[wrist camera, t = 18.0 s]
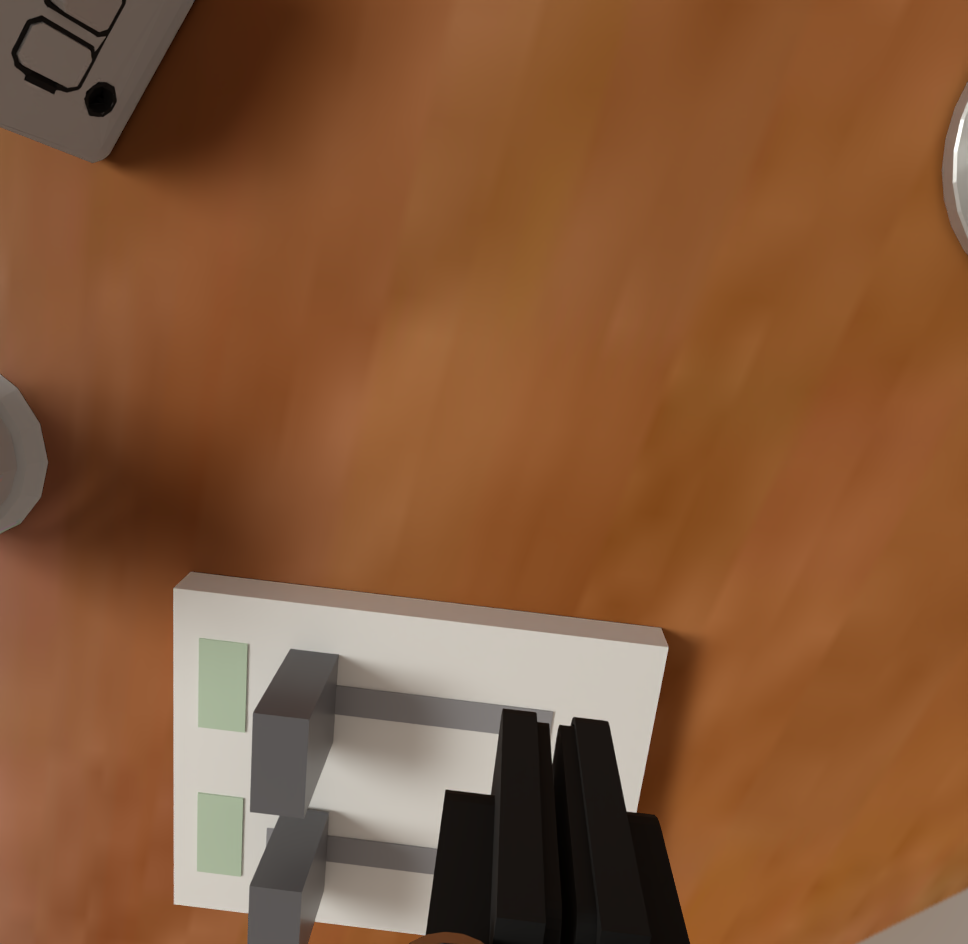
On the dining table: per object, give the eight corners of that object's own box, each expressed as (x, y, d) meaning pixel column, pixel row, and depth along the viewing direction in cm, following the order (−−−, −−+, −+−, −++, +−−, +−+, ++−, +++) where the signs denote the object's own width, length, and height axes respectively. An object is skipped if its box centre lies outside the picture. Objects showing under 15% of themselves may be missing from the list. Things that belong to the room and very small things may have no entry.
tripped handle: (329, 812, 39) (301, 892, 34) (324, 890, 41) (297, 978, 36) (283, 806, 40) (249, 885, 34) (279, 884, 41) (246, 971, 36)
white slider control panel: (661, 627, 38) (694, 713, 31) (603, 927, 44) (621, 1059, 36) (190, 571, 39) (115, 643, 31) (188, 875, 44) (124, 997, 37)
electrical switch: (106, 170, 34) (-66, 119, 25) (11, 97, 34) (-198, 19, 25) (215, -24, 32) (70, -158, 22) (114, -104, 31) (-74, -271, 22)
